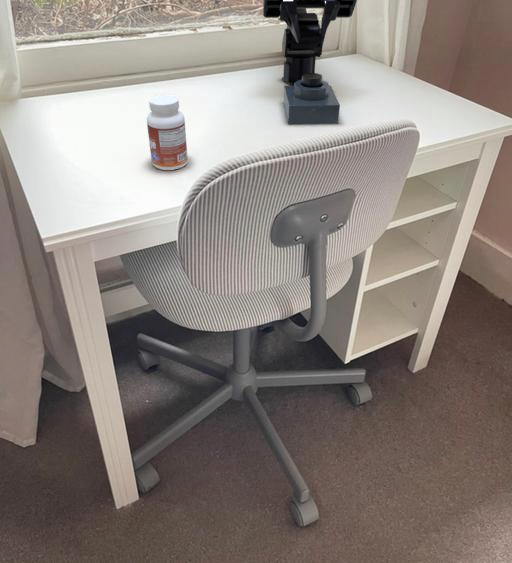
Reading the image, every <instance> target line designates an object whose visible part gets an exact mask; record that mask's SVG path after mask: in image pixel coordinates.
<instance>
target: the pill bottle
mask: <svg viewBox="0 0 512 563" xmlns="http://www.w3.org/2000/svg"><path fill="white" fill-rule="evenodd" d="M148 103H149V104H148V106H149V109H150V112H149V113H148V114H147V117H146V126H147V135H148V143H149V151H150V159H151V164H152V165H153V167H155V168H157V169H158V170H162V171H174V170H178V169H181V168H183V167H184V166H186V165H187V164H188V147H187V133H186V120H185V115H184V114H183V113H182V111H180V103H179V98H178V97H177V96H175V95H173V94H157V95H155V96H152V97H150V98H149V100H148Z"/></svg>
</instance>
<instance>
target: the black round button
mask: <svg viewBox="0 0 512 563" xmlns="http://www.w3.org/2000/svg"><path fill="white" fill-rule="evenodd" d="M322 80H323V75H322V74H320V73H317V72H315V73H306V74H303V75H302V86H304V87H309V88H317V87H321V86H322Z"/></svg>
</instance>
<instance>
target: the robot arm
mask: <svg viewBox="0 0 512 563" xmlns="http://www.w3.org/2000/svg"><path fill="white" fill-rule="evenodd" d="M357 2H358V0H263V1H262V16H263V17H264V18H266V19H267V18H268V19H271V18H272V19H275V18H276V19H278V18H279V21H280V22H284V23H285V24H286V28H284V31H283V37H282V41H281V53H282V55H283V58H285V61H284V62H283V76H281V80H282V81H283V82H285V83H286V84H288V85H289V86H294V83H295V82H296V81H298V80H302V75H303V74H306V73H316V72H315V71H316V60H317V59H316V58H321V56H322V55H323V46H324V42H325V37H326V34H327V30H328V28H329V26H330V24H331V22H335V21H336V20H337V19H338V18H339V19H341V18H345V19H346V18H348V19H349V18H350V17H352V16H353V13H354V12H355V11H354V10H355V8H356V5H357ZM307 9H310V10H312V9H313V10H314V9H315V10H316V9H317V10H318V9H320V10H321V9H322V10H323V12H322V16H321V22H320V20H319V19H318V15H317V13H315V12H308V11H307Z"/></svg>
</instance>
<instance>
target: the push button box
mask: <svg viewBox="0 0 512 563" xmlns="http://www.w3.org/2000/svg"><path fill="white" fill-rule="evenodd" d="M283 87H284V88H283V106H284V112H285V115H286V119H287V124H288V125H338V124H339V118H340V109H341V108H340V107H341V105H340V102H339V100H338V98H337V95H336V94H335V91H334V89H333V87H332V86H331V85H330V84H329V82H327V81H325V80H323V79H322V86H321V87H317V88H309V87H304V86H302V80H298V81H296V82H295V83H294V86H292V85H284V86H283Z"/></svg>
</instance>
